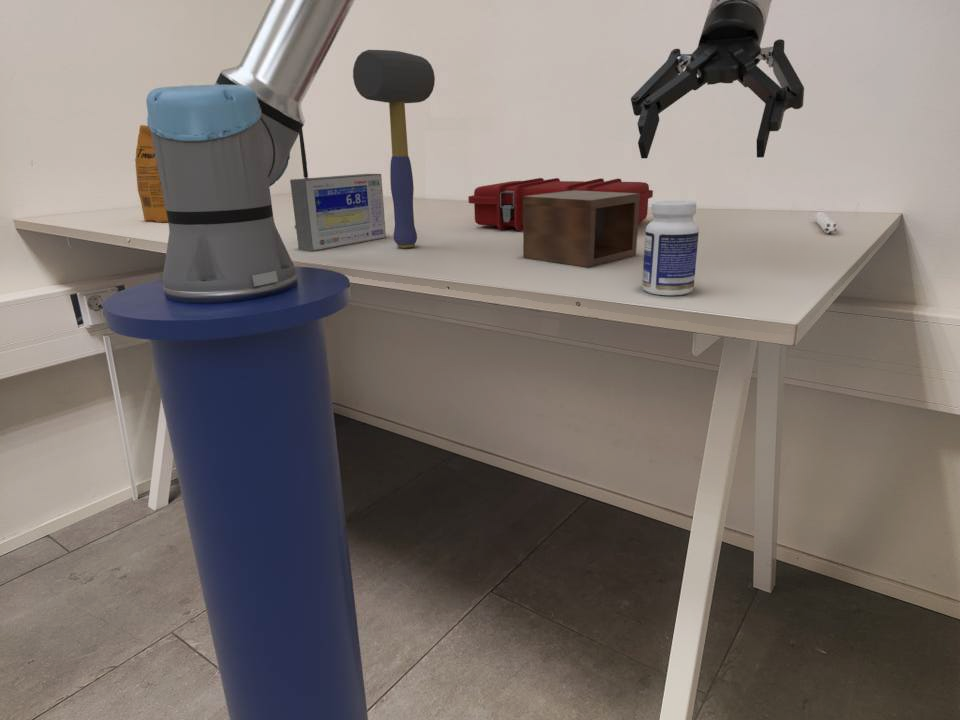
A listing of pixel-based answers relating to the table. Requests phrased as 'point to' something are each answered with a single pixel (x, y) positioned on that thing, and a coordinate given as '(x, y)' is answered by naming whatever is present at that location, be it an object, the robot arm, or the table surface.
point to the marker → (825, 222)
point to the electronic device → (336, 208)
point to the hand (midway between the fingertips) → (698, 150)
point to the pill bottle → (670, 249)
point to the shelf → (580, 227)
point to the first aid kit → (506, 199)
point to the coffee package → (149, 178)
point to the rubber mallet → (396, 120)
